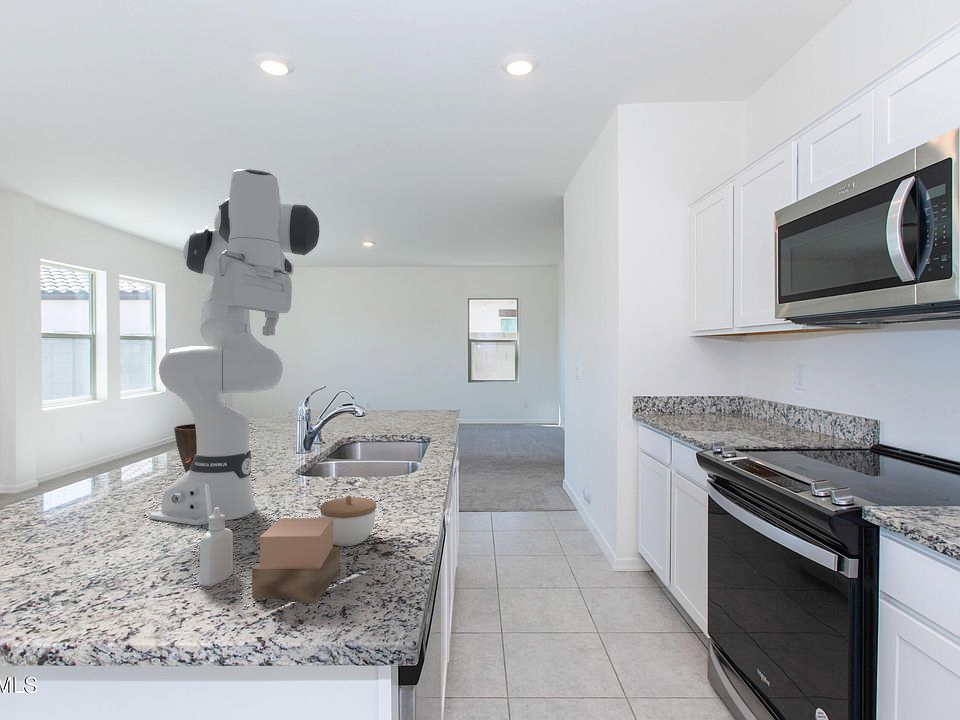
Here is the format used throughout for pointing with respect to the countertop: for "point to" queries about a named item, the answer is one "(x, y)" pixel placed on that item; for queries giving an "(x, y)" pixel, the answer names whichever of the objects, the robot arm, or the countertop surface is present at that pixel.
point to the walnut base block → (296, 581)
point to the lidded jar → (350, 519)
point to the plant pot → (186, 443)
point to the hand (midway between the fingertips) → (255, 334)
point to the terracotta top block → (296, 543)
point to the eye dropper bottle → (216, 551)
